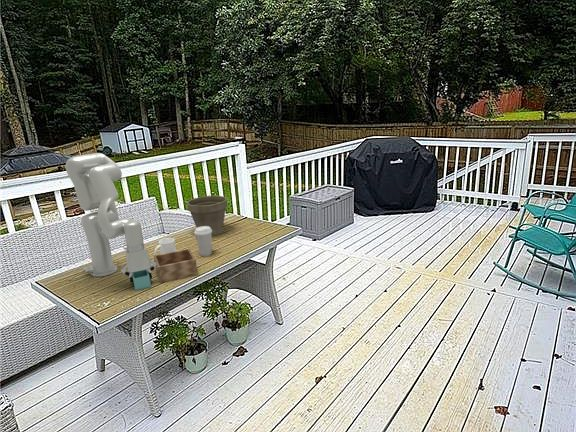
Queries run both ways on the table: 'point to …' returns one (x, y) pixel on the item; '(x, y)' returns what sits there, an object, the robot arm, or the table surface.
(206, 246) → the coffee cup
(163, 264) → the big crate
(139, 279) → the small crate
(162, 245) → the mug
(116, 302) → the table surface
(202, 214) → the plant pot
